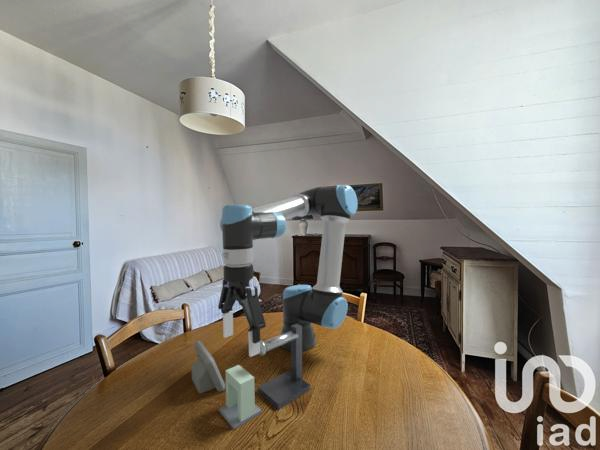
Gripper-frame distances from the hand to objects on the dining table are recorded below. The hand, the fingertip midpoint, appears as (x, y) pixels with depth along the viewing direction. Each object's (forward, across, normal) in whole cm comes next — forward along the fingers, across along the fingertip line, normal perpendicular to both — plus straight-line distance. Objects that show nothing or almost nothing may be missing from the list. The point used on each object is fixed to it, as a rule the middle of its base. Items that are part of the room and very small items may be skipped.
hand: (240, 344), depth 69 cm
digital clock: (+18, -18, -1) cm, 26 cm away
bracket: (+17, 0, -1) cm, 17 cm away
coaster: (+18, 0, -1) cm, 18 cm away
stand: (+18, +1, +12) cm, 22 cm away
